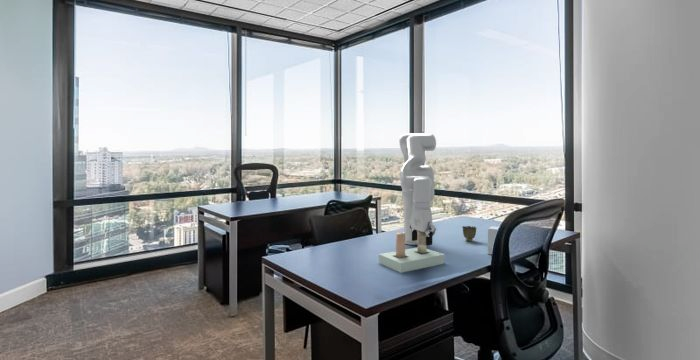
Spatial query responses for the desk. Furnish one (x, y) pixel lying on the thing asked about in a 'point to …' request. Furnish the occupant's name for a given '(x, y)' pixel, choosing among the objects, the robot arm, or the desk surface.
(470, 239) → the cup
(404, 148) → the robot arm
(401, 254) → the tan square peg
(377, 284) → the desk surface
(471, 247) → the desk surface
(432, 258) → the peg board
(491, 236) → the supplement box
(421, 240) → the ash peg
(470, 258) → the desk surface
